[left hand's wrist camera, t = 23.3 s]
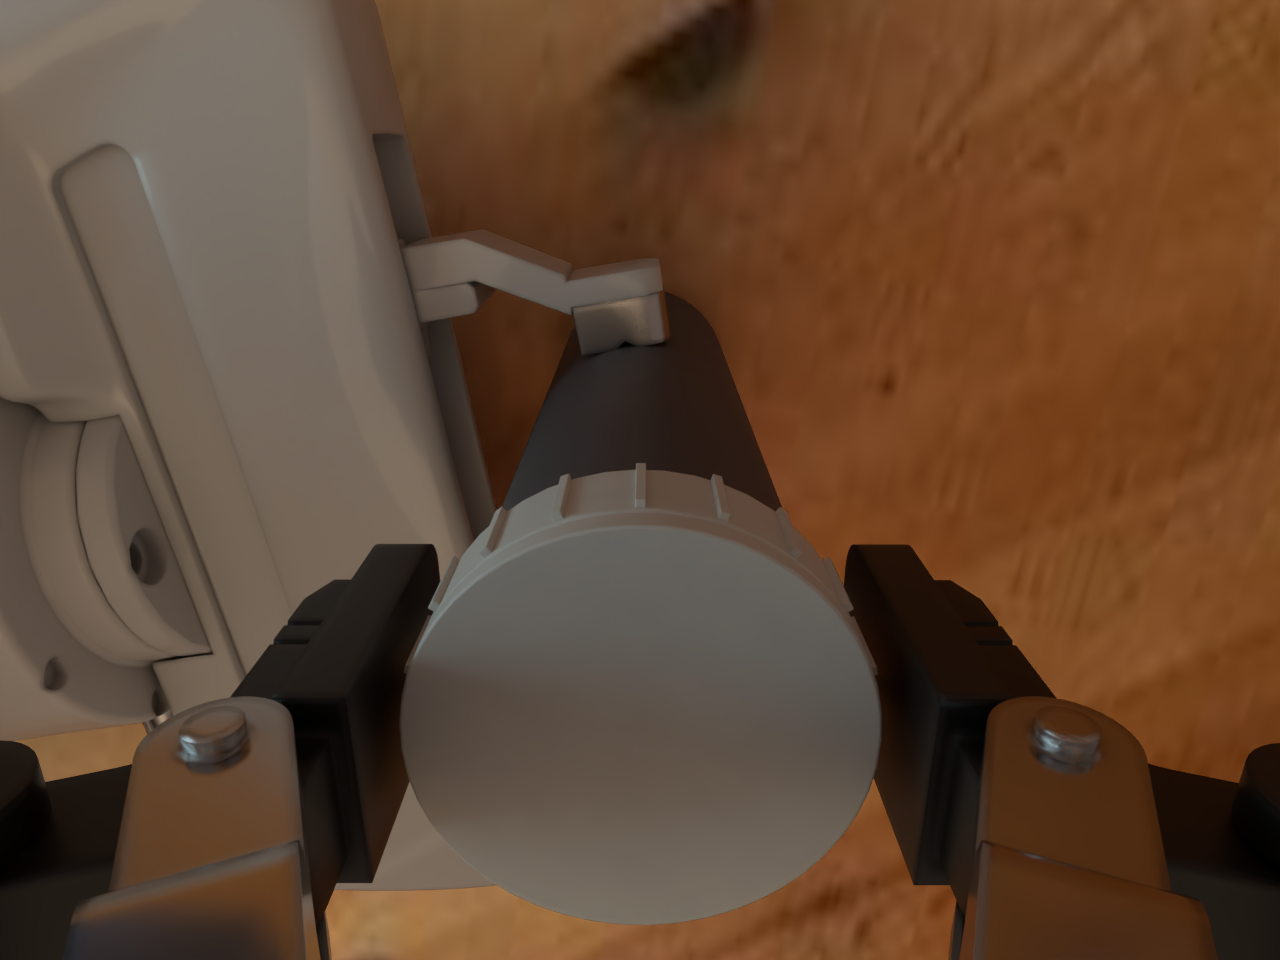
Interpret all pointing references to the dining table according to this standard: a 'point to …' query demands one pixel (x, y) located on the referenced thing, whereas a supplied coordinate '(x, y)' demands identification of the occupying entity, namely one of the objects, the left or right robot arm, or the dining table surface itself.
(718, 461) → the dark brown cylinder
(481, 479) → the right robot arm
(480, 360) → the dining table surface
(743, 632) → the lid
